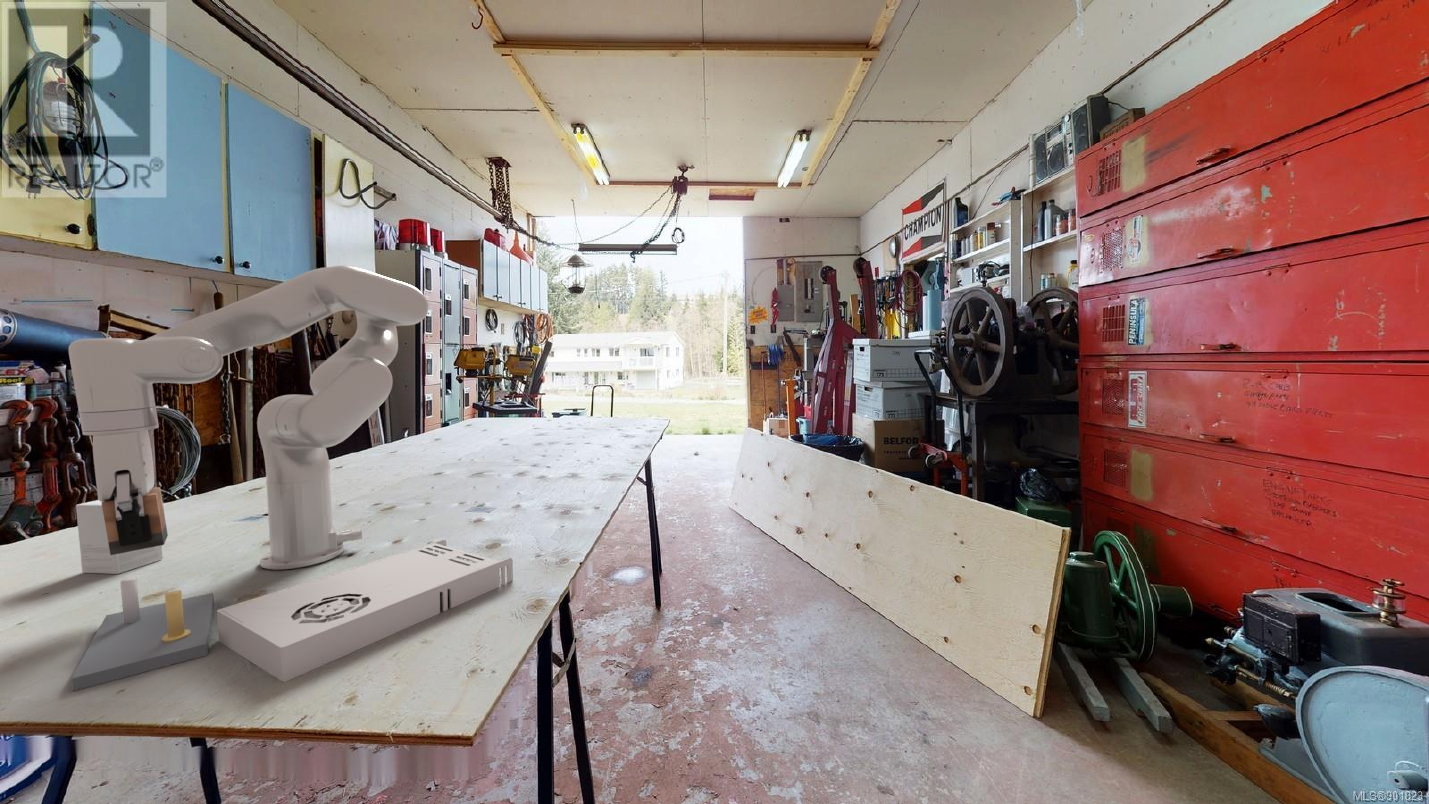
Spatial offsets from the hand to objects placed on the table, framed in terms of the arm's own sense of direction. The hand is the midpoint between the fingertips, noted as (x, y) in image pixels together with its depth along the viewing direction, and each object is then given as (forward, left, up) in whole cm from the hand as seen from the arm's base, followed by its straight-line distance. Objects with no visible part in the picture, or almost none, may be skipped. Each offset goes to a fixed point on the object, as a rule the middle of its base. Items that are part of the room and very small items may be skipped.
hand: (139, 536), depth 79 cm
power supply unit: (-27, +25, -12) cm, 39 cm away
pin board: (-2, +15, -11) cm, 19 cm away
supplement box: (+5, -26, -11) cm, 28 cm away
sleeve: (0, 0, -1) cm, 1 cm away
